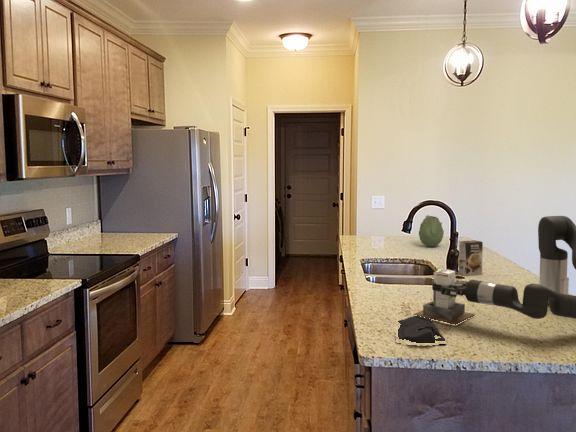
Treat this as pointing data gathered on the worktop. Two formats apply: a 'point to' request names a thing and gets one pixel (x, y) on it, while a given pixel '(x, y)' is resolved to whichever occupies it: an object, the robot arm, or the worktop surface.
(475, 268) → the coffee box
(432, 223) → the cabbage
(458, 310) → the socket board
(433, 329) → the dark slate chunk
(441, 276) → the syrup box
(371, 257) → the worktop surface
